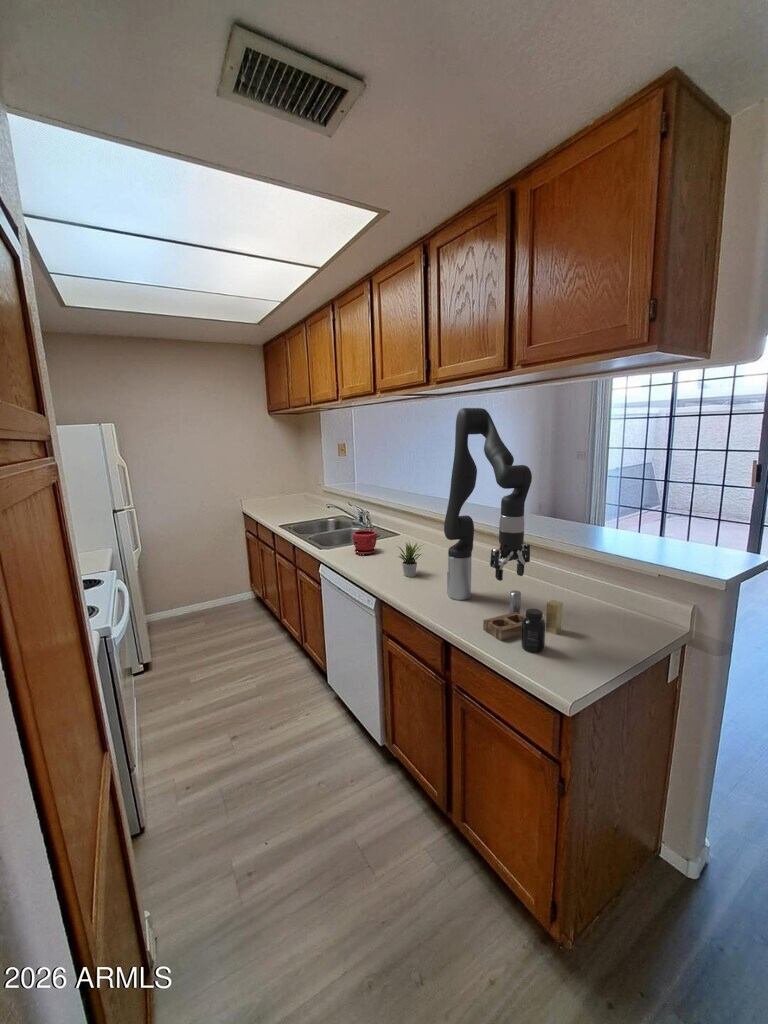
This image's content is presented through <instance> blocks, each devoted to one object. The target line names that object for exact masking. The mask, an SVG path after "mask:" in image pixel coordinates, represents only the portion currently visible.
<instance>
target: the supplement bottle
mask: <svg viewBox="0 0 768 1024" xmlns="http://www.w3.org/2000/svg"><path fill="white" fill-rule="evenodd" d="M543 618H544V617H543V611H542V610H541V609H538V608H527V609H526V610H525V618H524V619H523V620H522V635H521V643H520V644H521V647H522V649H523V650H524V651H527V652H529V653H541V652H543V651H544V650H545V645H546V621H545V620H544V619H543Z"/></svg>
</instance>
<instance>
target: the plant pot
mask: <svg viewBox="0 0 768 1024" xmlns="http://www.w3.org/2000/svg"><path fill="white" fill-rule="evenodd" d="M377 538H378V537H377V532H376V531H373V530H356V531H354V532H353V533H352V541H353V542H352V543H353V545H354V548H355V549H354V553H355V552H356V553H355V554H357V553H358V554H357V555H359V554H370V555H372V554H371V553H373V554H374V553H375V552H376V549H375V547H376V545H377ZM357 551H358V552H357Z"/></svg>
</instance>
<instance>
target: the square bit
mask: <svg viewBox="0 0 768 1024" xmlns="http://www.w3.org/2000/svg"><path fill="white" fill-rule="evenodd" d="M563 605H564V602H561V601H558V600H554V599H551V600H549V601H547V602H546V613H545V614H546V615H545V632H547V633H550V634H553V635H558V634H559V633H560V632H562V627H563V626H562V622H563V607H564V606H563Z"/></svg>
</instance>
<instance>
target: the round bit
mask: <svg viewBox="0 0 768 1024" xmlns="http://www.w3.org/2000/svg"><path fill="white" fill-rule="evenodd" d="M521 603H522V592H521V591H519V590H511V591H510V593H509V613H513V612H517V613H519V614H521Z"/></svg>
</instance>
